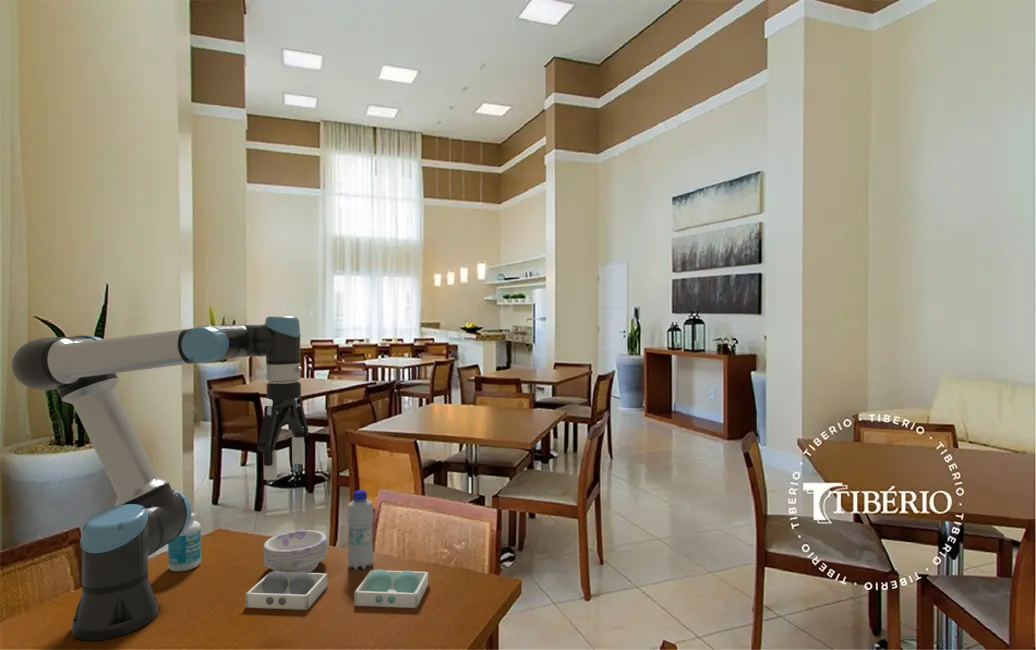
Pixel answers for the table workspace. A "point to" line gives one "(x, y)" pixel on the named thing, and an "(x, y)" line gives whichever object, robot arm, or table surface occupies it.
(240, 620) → the table surface
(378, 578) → the teal ball
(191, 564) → the pill bottle
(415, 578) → the teal ball
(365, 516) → the bottle
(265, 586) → the charcoal ball
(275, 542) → the paper bowls
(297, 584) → the charcoal ball
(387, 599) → the dish right
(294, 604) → the dish left
